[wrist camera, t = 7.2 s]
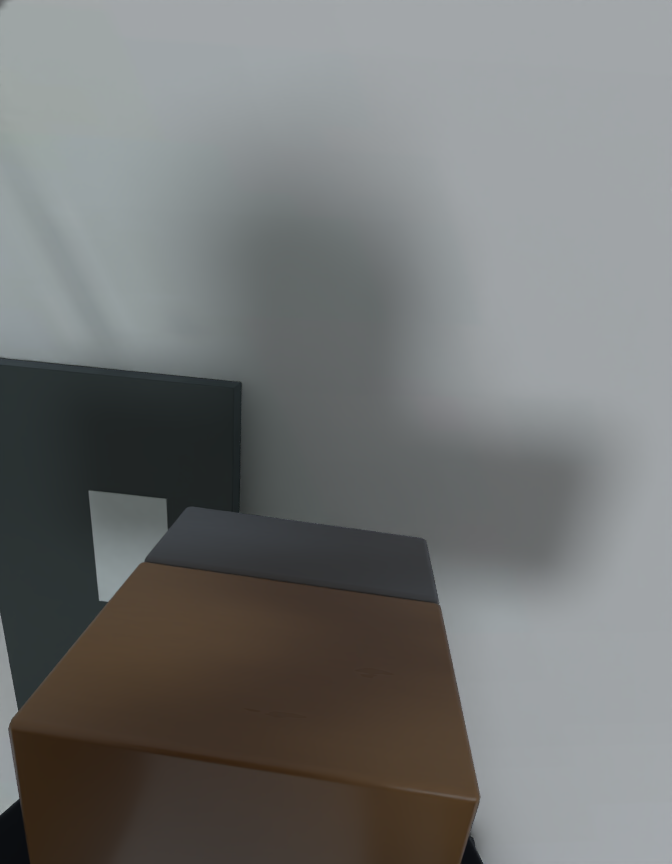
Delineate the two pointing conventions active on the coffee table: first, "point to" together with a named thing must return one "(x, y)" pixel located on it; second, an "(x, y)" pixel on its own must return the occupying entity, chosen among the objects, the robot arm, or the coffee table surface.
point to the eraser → (254, 708)
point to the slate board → (97, 490)
